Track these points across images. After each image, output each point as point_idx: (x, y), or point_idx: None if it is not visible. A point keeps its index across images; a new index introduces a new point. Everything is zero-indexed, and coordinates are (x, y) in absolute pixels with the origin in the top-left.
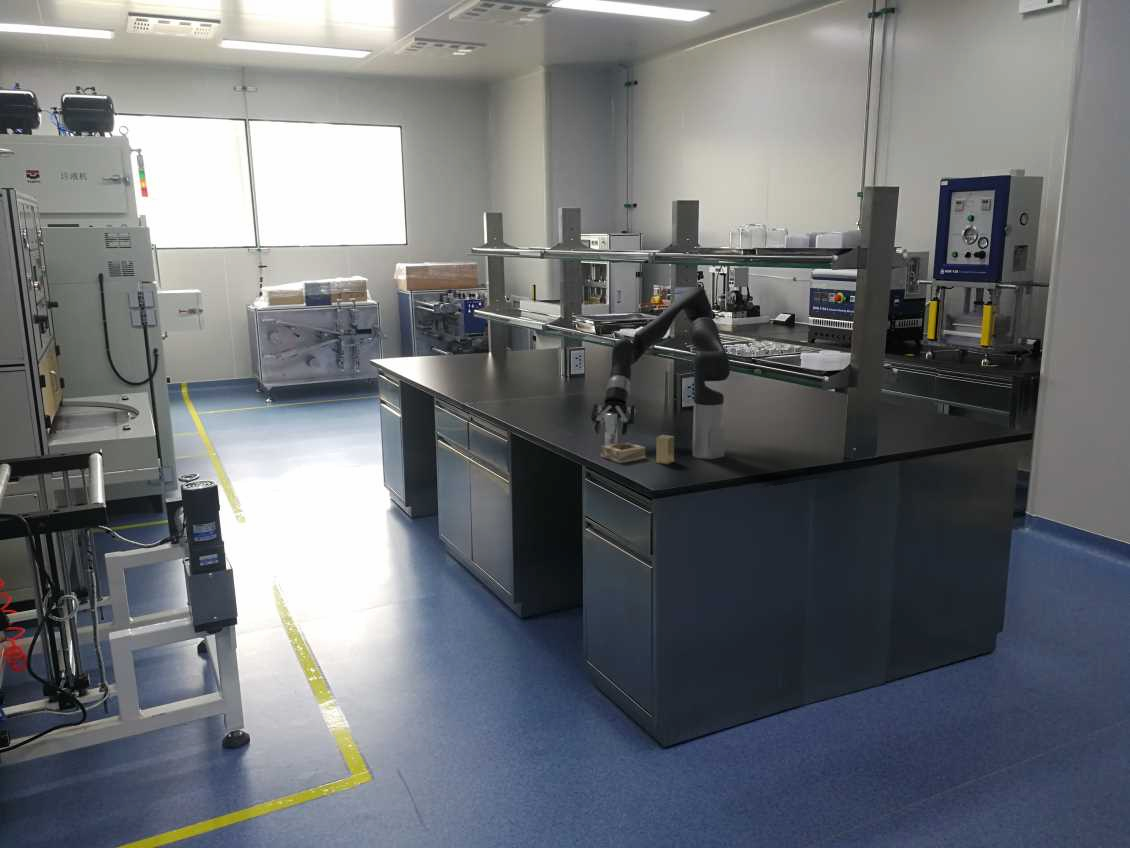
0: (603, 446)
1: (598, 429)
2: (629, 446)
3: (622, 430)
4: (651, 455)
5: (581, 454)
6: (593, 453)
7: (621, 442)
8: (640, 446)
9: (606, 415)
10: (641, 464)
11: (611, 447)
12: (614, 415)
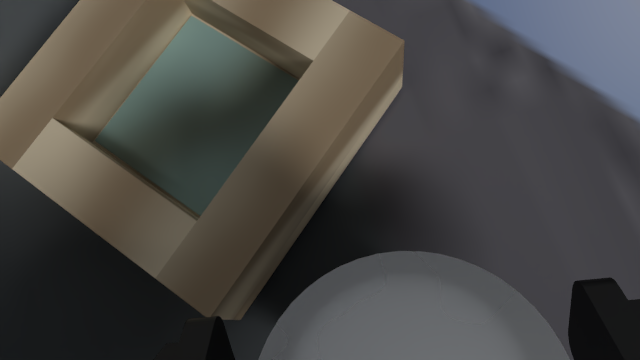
0: (368, 27)
1: (586, 303)
2: (140, 180)
3: (206, 327)
4: (3, 292)
5: (606, 120)
6: (515, 190)
7: (237, 250)
8: (18, 151)
9: (485, 275)
10: (45, 11)
11: (280, 21)
12: (287, 309)
